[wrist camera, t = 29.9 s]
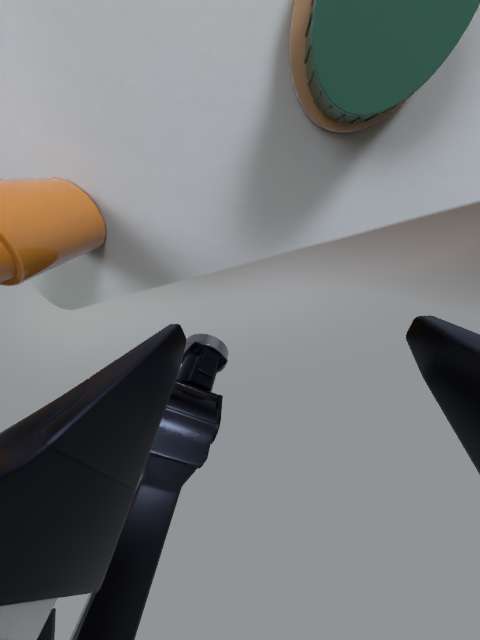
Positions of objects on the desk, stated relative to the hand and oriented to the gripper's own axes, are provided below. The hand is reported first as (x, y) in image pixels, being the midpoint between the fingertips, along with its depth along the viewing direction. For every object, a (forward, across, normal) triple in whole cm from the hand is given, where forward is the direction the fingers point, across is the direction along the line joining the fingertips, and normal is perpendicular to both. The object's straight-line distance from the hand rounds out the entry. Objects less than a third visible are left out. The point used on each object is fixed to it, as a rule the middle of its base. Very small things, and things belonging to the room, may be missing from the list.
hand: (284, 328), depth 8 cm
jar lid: (+9, -5, -10) cm, 14 cm away
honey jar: (+12, +19, -4) cm, 23 cm away
